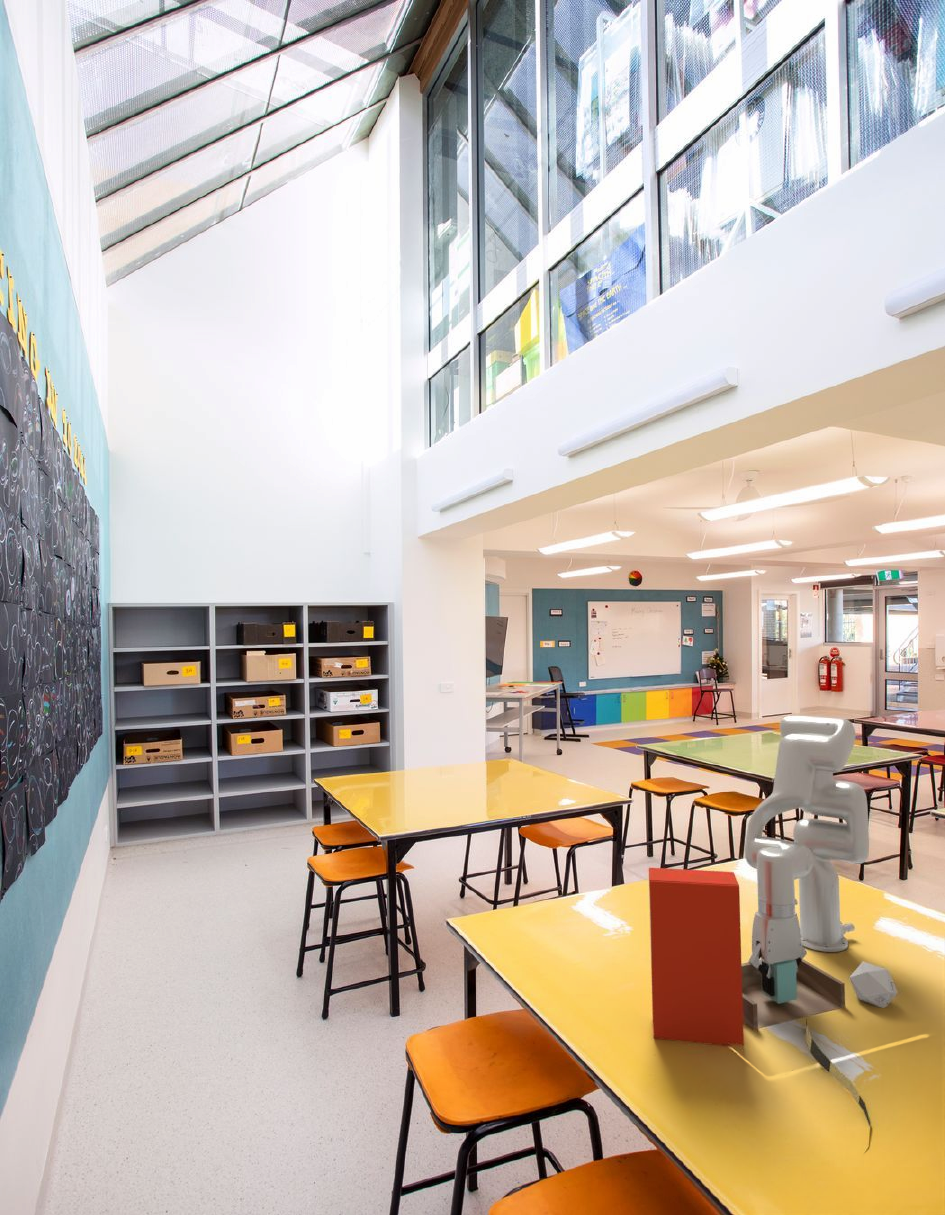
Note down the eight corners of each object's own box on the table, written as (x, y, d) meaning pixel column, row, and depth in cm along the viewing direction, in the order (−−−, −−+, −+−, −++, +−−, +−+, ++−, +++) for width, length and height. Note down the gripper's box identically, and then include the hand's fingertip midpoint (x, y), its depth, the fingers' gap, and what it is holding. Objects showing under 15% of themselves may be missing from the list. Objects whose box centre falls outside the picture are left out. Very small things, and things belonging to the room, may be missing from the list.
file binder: (744, 1049, 139) (739, 885, 140) (653, 1039, 143) (649, 880, 143) (737, 1026, 147) (733, 871, 147) (652, 1017, 150) (648, 866, 151)
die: (868, 1018, 150) (898, 986, 148) (835, 982, 156) (863, 951, 155) (882, 1018, 154) (912, 987, 153) (850, 984, 161) (877, 953, 159)
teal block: (780, 988, 157) (779, 951, 157) (797, 999, 152) (795, 961, 153) (761, 992, 156) (760, 955, 156) (778, 1003, 151) (777, 966, 151)
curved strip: (833, 1039, 143) (833, 1019, 143) (893, 1185, 106) (893, 1159, 106) (800, 1033, 144) (801, 1014, 145) (848, 1176, 107) (848, 1150, 107)
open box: (793, 977, 166) (792, 953, 166) (845, 1009, 152) (844, 983, 152) (707, 996, 159) (707, 970, 159) (754, 1032, 144) (753, 1004, 144)
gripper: (795, 895, 161) (797, 976, 160) (732, 906, 155) (735, 989, 155) (820, 907, 154) (823, 992, 153) (756, 919, 148) (759, 1007, 148)
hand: (779, 990), depth 154 cm, fingers closed on teal block, 5 cm apart
